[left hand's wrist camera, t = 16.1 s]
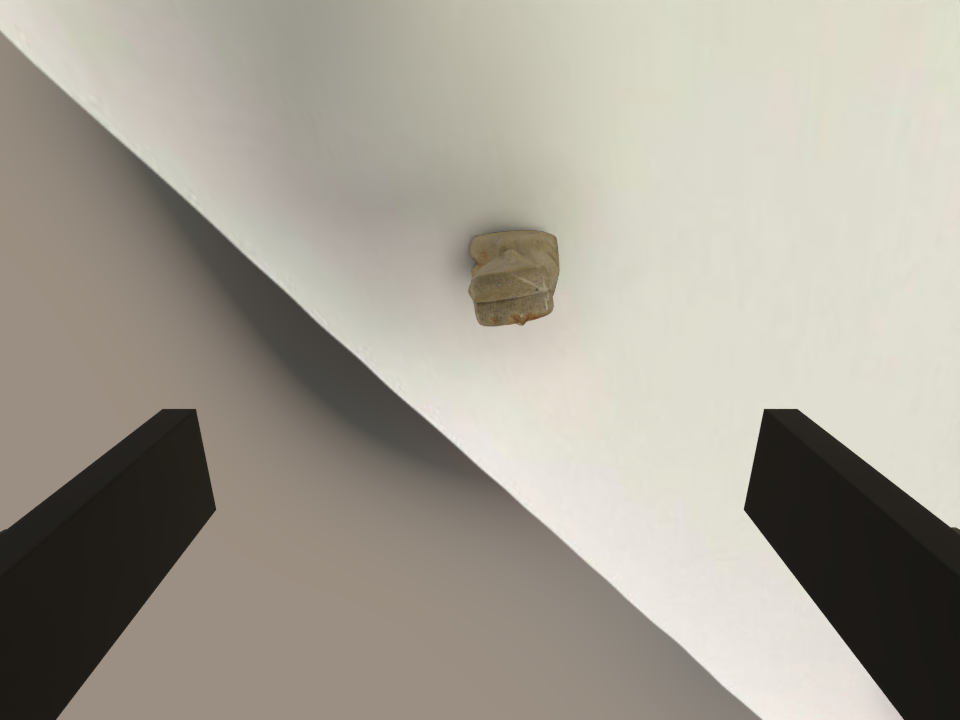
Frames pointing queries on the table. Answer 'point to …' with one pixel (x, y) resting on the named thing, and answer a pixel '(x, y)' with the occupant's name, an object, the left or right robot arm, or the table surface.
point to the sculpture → (513, 276)
